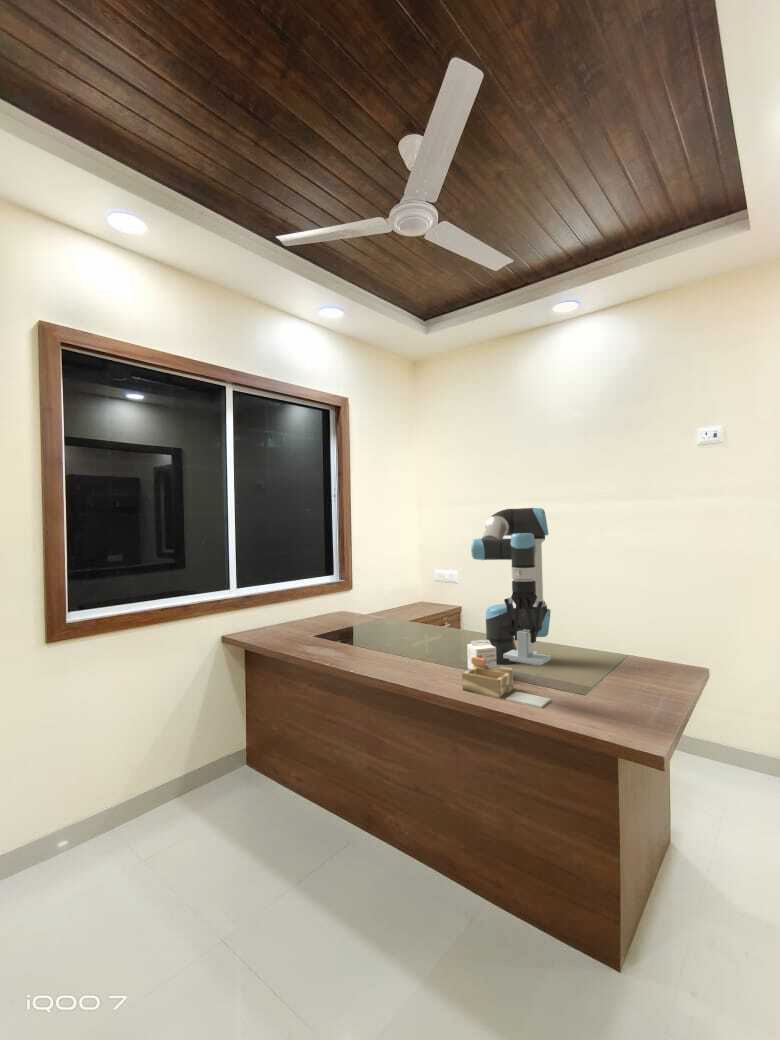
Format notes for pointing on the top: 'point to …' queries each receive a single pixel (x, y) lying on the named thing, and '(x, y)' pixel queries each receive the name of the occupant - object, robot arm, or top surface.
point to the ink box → (482, 653)
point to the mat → (528, 699)
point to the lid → (525, 652)
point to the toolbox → (488, 680)
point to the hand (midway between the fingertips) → (525, 651)
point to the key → (478, 661)
